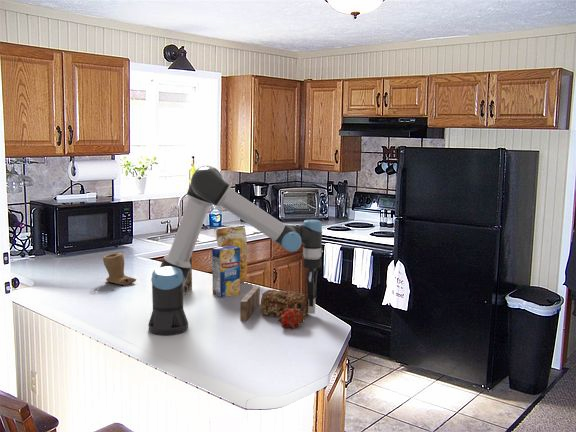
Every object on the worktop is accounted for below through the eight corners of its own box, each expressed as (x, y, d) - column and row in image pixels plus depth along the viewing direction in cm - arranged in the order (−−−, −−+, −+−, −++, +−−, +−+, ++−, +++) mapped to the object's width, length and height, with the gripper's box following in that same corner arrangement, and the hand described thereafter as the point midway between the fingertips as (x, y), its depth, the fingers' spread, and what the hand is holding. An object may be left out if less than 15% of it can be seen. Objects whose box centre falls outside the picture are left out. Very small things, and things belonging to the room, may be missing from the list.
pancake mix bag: (212, 283, 308) (212, 228, 304) (244, 278, 320) (244, 224, 316) (220, 286, 303) (219, 230, 299) (252, 280, 315) (252, 226, 311)
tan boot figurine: (99, 282, 309) (98, 253, 307) (120, 278, 317) (119, 249, 315) (115, 288, 298) (114, 257, 296) (137, 283, 307) (136, 254, 305)
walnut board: (246, 320, 250) (246, 301, 249) (240, 320, 251) (240, 301, 250) (259, 304, 274) (259, 286, 273) (254, 303, 274) (254, 286, 273)
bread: (259, 315, 258) (259, 292, 256) (269, 308, 267) (269, 286, 266) (301, 321, 251) (302, 297, 250) (310, 313, 261) (310, 290, 259)
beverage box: (212, 294, 289) (212, 248, 286) (232, 290, 296) (231, 245, 293) (220, 297, 284) (220, 250, 281) (240, 293, 291) (240, 247, 287)
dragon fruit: (307, 329, 246) (280, 337, 241) (298, 312, 251) (271, 320, 246) (311, 316, 240) (284, 325, 235) (302, 299, 245) (274, 307, 240)
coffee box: (185, 295, 287) (185, 261, 285) (172, 294, 289) (172, 260, 286) (192, 289, 296) (192, 257, 294) (180, 289, 298) (179, 256, 295)
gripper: (319, 261, 247) (318, 318, 250) (323, 254, 260) (322, 309, 263) (300, 260, 248) (300, 317, 252) (305, 253, 261) (305, 308, 264)
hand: (311, 312), depth 257 cm, fingers closed
